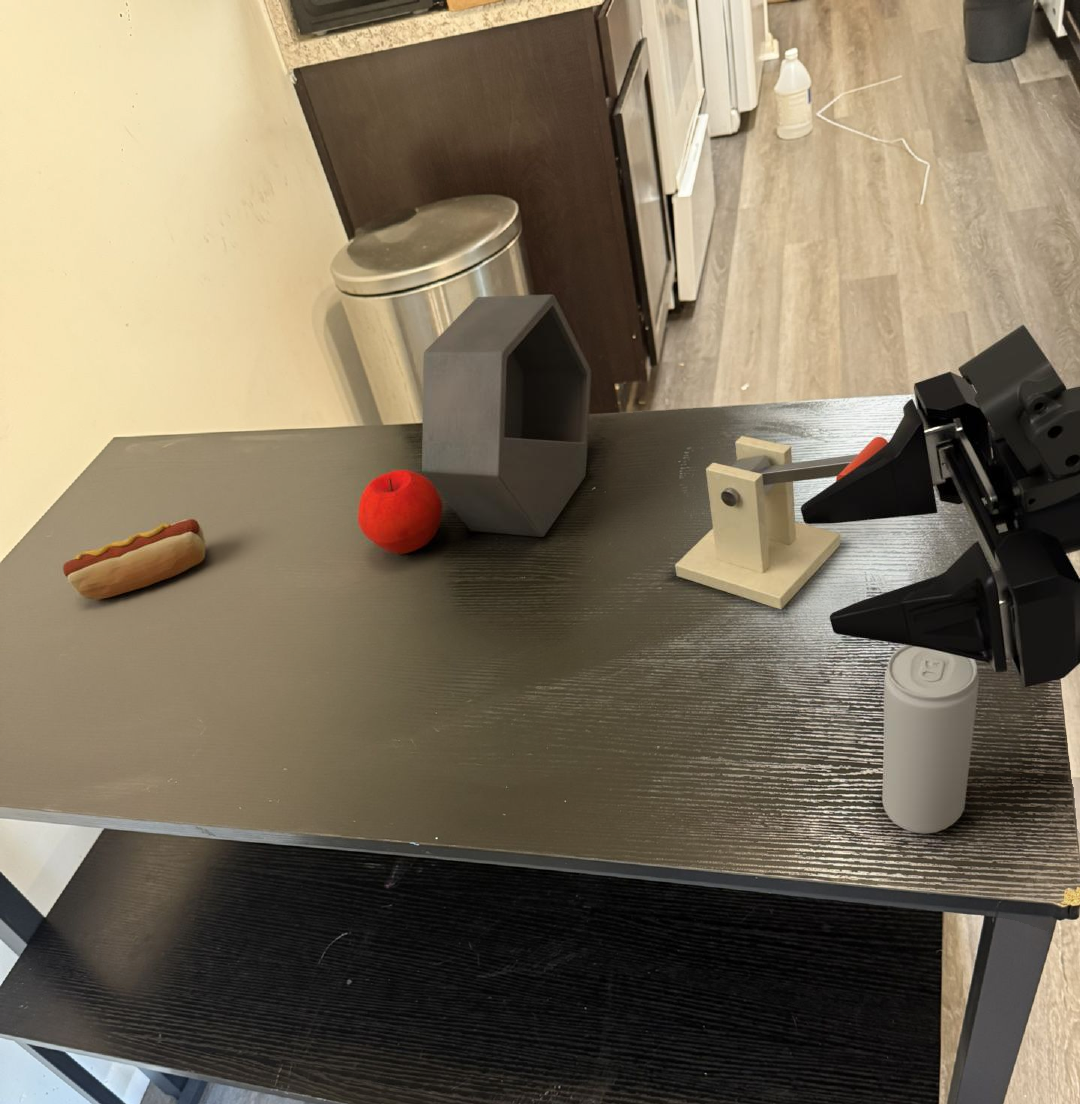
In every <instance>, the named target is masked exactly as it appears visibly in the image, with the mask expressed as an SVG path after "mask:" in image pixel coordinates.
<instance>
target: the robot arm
mask: <svg viewBox="0 0 1080 1104" xmlns="http://www.w3.org/2000/svg"><path fill="white" fill-rule="evenodd" d="M958 372H959V373H960V375H958V374H956V373H954V372H952V371H947V372H944V373H942V374H937V375H936V376H933V377H930V378H926V379H924V380H920V381H918V382H915V383H913V384H914V385H913V392H914V397H915V400H914V399H913V398H911V399H909V400H908V401H906V403H905V404H904V405H903V408H902V410H903V411H902V412H903V417H902V419H901V420H900V422H899V423H898V426H897V427H896V429H895V431H894V433H893V435H892V437H891V438H890V440H889V441H887V442H888V443H887V444H886V445H885V446H884V447H883V448H882V449H880V450H879V451H878V452H877V453H875V454H874V455H873V456H872V457H870V458H869V459H868V460H866V461H865V462H864V463H862V464H861V465H859V466H858V467H856V468H855V469H854V470H852V471H851V472H849V473H848V474H846V475H845V476H843V477H842V478H840V479H839V480H838V481H836V480H835V482H833V483H832V484H830V485H828V486H827V487H825V488H824V489H823V490H822V491H820V492H818V493H817V494H816V495H814V496H813V497H812V498H810V499H808V500H807V501H806V502H804V503H802V505H801V506H800V513H801V516H802V521H803V523H804V524H805V525H830V524H832V525H833V524H843V523H852V522H862V521H864V522H865V521H873V520H874V521H875V520H883V519H894V518H905V517H915V516H927V515H935V514H938V507H937V500H936V494H937V496H938V499H939V501H940V502H942V503H943V502H944V503H948V504H954V505H958V506H959V505H963V507H964V508H965V510H966V512H967V514H968V516H969V518H970V521H971V523H972V525H973V527H974V529H975V531H976V533H977V536H978V538H979V540H980V542H981V543H980V542H979V541H974V542H973V543H972V545H970V546H969V548H967V549H966V551H964V552H963V553H962V554H961V555H960V556H959V557H958V558H957V559H956V560H955V561H954V563H953V564H951V566H950V567H948V568H947V570H945V571H943V572H942V573H941V574H939V575H936V576H932V577H930V578H929V577H928V578H926V579H922V580H920V581H917V582H914V583H911V584H908V585H905V586H903V587H899V588H896V589H893V590H890V591H887V592H883V593H881V594H878V595H875V596H872V597H868V598H865V599H862V600H859V601H857V602H855V603H852V604H850V605H847V606H845V607H842V608H840V609H838V610H835V611H833V612H832V613H830V615H829V621H830V624H831V628H832V632H833V633H834V634H836V635H840V636H846V637H852V638H853V637H854V638H859V639H865V640H866V639H867V640H871V641H872V640H873V641H878V642H879V641H880V642H886V643H890V644H891V643H892V644H898V645H903V646H904V645H911V646H915V647H921V648H927V649H932V650H936V651H941V652H945V653H949V654H953V655H958V656H962V657H966V658H970V659H975V661H980V662H984V663H988V664H989V665H991V668H992V670H993V671H994V673H995V674H996V673H997V674H999V673H1005V672H1008V665H1007V664H1008V663H1007V660H1010V663H1011V664H1012V667H1013V669H1014V672H1015V673H1016V676H1017V678H1018V680H1019V682H1020V685H1021V687H1022V688H1028V687H1029V688H1030V687H1033V686H1037V685H1040V684H1045V683H1049V682H1054V681H1057V680H1061V679H1064V678H1065V677H1067V676H1068V675H1069V674H1070V673H1071V672H1073V670H1074V669H1076V668H1077V666H1079V665H1080V576H1079V574H1078V572H1077V571H1076V569H1075V567H1074V565H1073V563H1072V561H1071V559H1070V558H1069V556H1068V555H1069V554H1071V553H1075V552H1079V551H1080V386H1079V385H1078V386H1075V387H1071V388H1067V387H1066V385H1065V383H1064V382H1063V380H1062V379H1061V377H1060V375H1059V374H1058V372H1057V371H1056V370H1055V368H1054V367H1053V365H1052V363H1051V362H1050V360H1049V359H1048V357H1047V356H1046V354H1045V353H1044V352H1043V350H1042V349H1041V347H1040V345H1039V344H1038V343H1037V341H1036V340H1035V339H1034V337H1033V336H1032V334H1031V332H1030V331H1029V330H1028V328H1027V326H1025V324H1022V325H1020V326H1018V327H1017V328H1016V329H1014V330H1012V331H1011V332H1010V333H1008V334H1007V335H1005V336H1004V337H1002V338H1000V340H999V339H998V341H996V342H995V343H993V344H991V345H990V346H988V347H987V348H986V349H984V350H982V351H981V352H980V353H978V354H977V355H975V356H973V357H972V358H971V359H969V360H968V361H966V362H965V363H963V364H962V365H961V366H958ZM914 401H915V402H914ZM935 493H936V494H935ZM983 499H984V501H985V502H986V503H984V501H983ZM998 526H1000V528H1001V529H1002V532H999V531H1000V530H999V528H997V527H998ZM981 544H982V546H981ZM982 547H983V548H982ZM984 551H985V553H986V555H985V553H984ZM986 556H987V557H988V559H989V561H990V563H989V561H988V559H987V557H986ZM990 564H991V565H992V567H991V565H990ZM992 568H993V569H992Z"/></svg>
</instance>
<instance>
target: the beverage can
mask: <svg viewBox="0 0 1080 1104" xmlns="http://www.w3.org/2000/svg"><path fill="white" fill-rule="evenodd" d="M976 661H977V660H975V659H970V658H966V657H962V656H958V655H953V654H949V653H945V652H941V651H936V650H932V649H927V648H921V647H915V646H911V645H904V644H903V645H902V646H900V647H899V648H898V649H896V650H895V651H894V652H893V653H892V654H891V655H890V658H889V660H888V661H887V666H886V667H887V668H886V669H885V672H884V680H883V753H882V793H881V795H882V801H881V802H882V806H883V809H884V812H885V813H886V816H887V817H888V818H889V819H890V821H892V822H893V823H894V824H895V825H896V826H898V827H900V828H901V829H903V830H905V831H908V832H912V833H915V834H924V835H925V834H926V835H928V834H934V833H935V834H936V833H937V832H940V831H943V830H946V829H948V828H949V827H950V826H952V825H954V824H955V823H956V822H957V821H958V820H959V819H960V818H961V816H962V814H963V813H964V811H965V808H966V807H965V806H966V799H967V788H968V779H969V771H970V763H971V755H972V748H973V747H972V746H973V738H974V730H975V721H976V713H977V712H976V711H977V702H978V695H979V686H980V685H979V681H980V675H979V673H978V664H977V662H976Z"/></svg>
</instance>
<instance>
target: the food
mask: <svg viewBox="0 0 1080 1104" xmlns="http://www.w3.org/2000/svg"><path fill="white" fill-rule="evenodd" d="M206 550H207V549H206V540H205V536H204V531H203V529H202V526H201V525H200V523H198V520H196V519H194V518H185V519H181V520H179V521H177V522H174V523H172V524H170V523H168V522H167V523H162V524H160V525H159V526H157V527H156V528H155V529H152V530H149V531H145V532H144V531H143V532H139V533H136V534H133V535H130V536H129V537H128V538H125V539H123V540H120V541H114V542H113V541H112V542H110V543H108V544H106V545H104V546H102V547H100V548H97V549H93V550H86V551H83V552H81V553H78V554H76V556H75V557H73V558H72V559H71V560H68V561H66V562H65V563H63V566H62V572H63V574H64V576H65V577H66V578H67V581H68V583H69V584H70V585H71V586H72V588H73V589H74V591H76V593H77V594H78V595H80V596H82V597H83V598H84V599H89V600H95V601H96V600H97V601H99V600H103V599H107V598H111V597H115V596H118V595H121V594H125V593H129V592H131V591H135V590H139V589H142V588H146V587H149V586H151V585H153V584H156V583H159V582H160V581H164V580H167V579H171V578H173V577H176V576H178V575H181V574H182V573H184V572H185V571H187V570H189V569H191V568H193V567H195V566H197V565H199V564H201V563H202V562H203V561H204V559H205V557H206Z"/></svg>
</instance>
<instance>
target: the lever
mask: <svg viewBox="0 0 1080 1104" xmlns="http://www.w3.org/2000/svg"><path fill="white" fill-rule="evenodd" d="M888 442H889V441H888V440H887V439H886V438H885V437H882V436H875V437H874V438H872V439H871V441H870V442H869V443H867V445H866V446H865V447H864V448H862V449H861V451H860V452H859V453H856V454H849V455H841V456H834V457H833V456H832V457H826V458H820V459H819V458H818V459H813V460H805V461H799V462H798V461H797V462H792V463H790V464H782V465H775V466H771V465H770V462H769V460H768V457H767V455H762V456H756V457H749V458H742V459H738V460H737V459H736V460H735V462H734V463H732V465H731V466H730V467H734V468H738V469H743V470H747V471H751V472H755V473H760V474H762V476H763V489H764V495H765V494H766V493H767V492H768V491H769V490H770V489H771V488H772V487H773V486H774V485H775V484H778V483H786V482H793V483H795V482H802V481H810V480H818V479H827V478H834V477H836V478H835V482H836V481H838V480H839V479H840V478H842V477H843V476H845V475H846V474H848V473H849V472H851V471H852V470H854V469H855V468H856V467H858V466H859V465H861V464H862V463H864V462H865V461H866V460H868V459H869V458H870V457H872V456H873V455H874V454H875V453H877V452H878V451H879V450H880V449H882V448H883V447H884V446H885V445H886V444H887V443H888Z"/></svg>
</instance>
